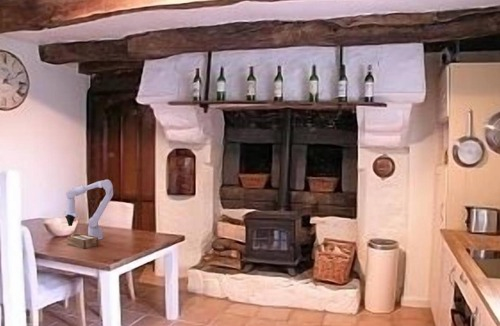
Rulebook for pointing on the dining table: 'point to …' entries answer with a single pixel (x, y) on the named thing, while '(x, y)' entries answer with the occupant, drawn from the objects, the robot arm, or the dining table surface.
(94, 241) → the keepsake box
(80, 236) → the lid
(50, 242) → the dining table surface
